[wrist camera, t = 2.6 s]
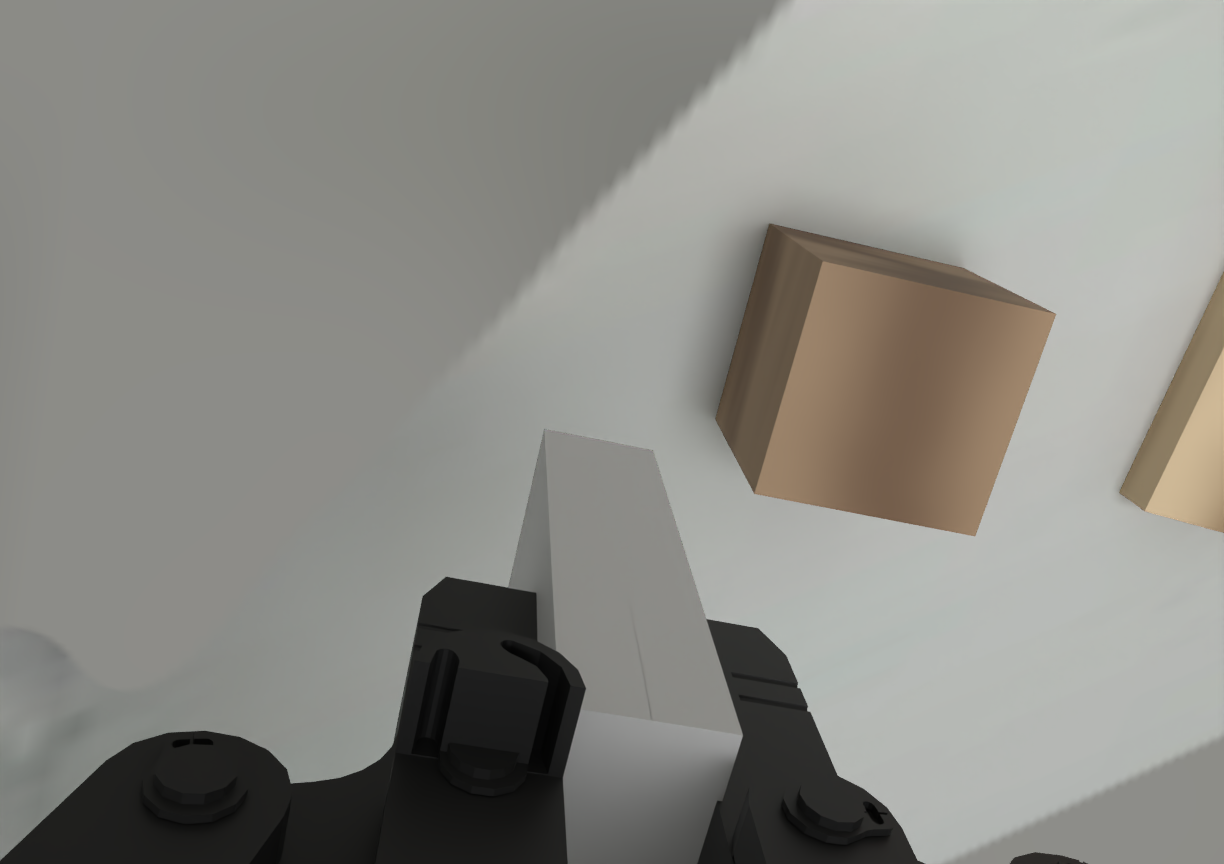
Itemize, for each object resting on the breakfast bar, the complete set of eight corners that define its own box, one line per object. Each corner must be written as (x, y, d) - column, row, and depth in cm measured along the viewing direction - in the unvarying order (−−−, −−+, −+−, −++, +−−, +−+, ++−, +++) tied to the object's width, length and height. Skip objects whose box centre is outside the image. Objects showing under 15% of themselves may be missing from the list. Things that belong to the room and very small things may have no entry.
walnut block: (714, 418, 33) (754, 493, 28) (768, 223, 32) (822, 260, 26) (899, 455, 34) (975, 536, 29) (962, 267, 33) (1056, 313, 27)
